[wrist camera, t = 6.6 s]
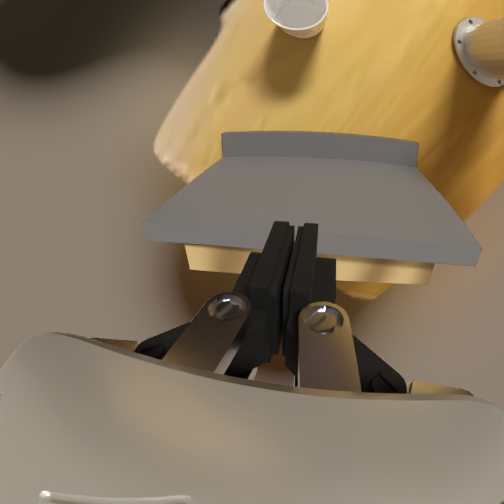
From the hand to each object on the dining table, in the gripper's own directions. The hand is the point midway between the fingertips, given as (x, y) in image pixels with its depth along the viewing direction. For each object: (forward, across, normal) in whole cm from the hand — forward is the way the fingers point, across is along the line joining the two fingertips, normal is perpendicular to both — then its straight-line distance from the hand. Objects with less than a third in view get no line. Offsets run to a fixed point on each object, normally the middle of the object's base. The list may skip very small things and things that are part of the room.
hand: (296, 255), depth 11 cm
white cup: (+37, +2, -18) cm, 41 cm away
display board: (+37, 0, +6) cm, 38 cm away
